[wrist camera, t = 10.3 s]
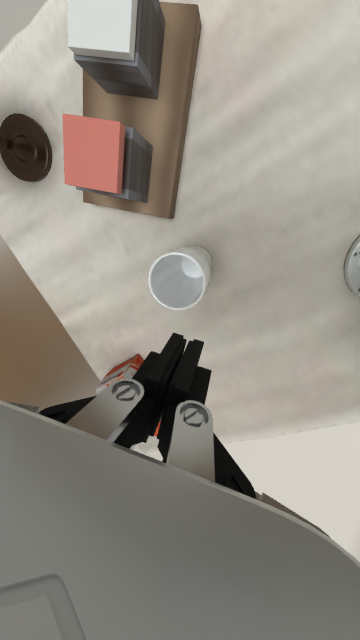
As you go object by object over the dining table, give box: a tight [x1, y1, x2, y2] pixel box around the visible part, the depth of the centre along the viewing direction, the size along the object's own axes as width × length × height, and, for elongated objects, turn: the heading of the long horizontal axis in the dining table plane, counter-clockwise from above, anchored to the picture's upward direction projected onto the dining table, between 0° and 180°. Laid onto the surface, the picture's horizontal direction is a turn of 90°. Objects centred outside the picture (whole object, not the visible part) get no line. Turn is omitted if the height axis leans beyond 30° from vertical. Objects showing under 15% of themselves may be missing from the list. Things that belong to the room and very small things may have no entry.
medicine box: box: [96, 354, 161, 439], centre depth 49 cm, size 15×8×8 cm, turn 36°
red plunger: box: [63, 114, 125, 194], centre depth 29 cm, size 6×6×8 cm
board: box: [74, 0, 201, 219], centre depth 29 cm, size 14×22×10 cm, turn 170°
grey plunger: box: [67, 0, 138, 61], centre depth 25 cm, size 6×6×8 cm
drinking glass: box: [148, 246, 211, 310], centre depth 33 cm, size 7×7×15 cm
